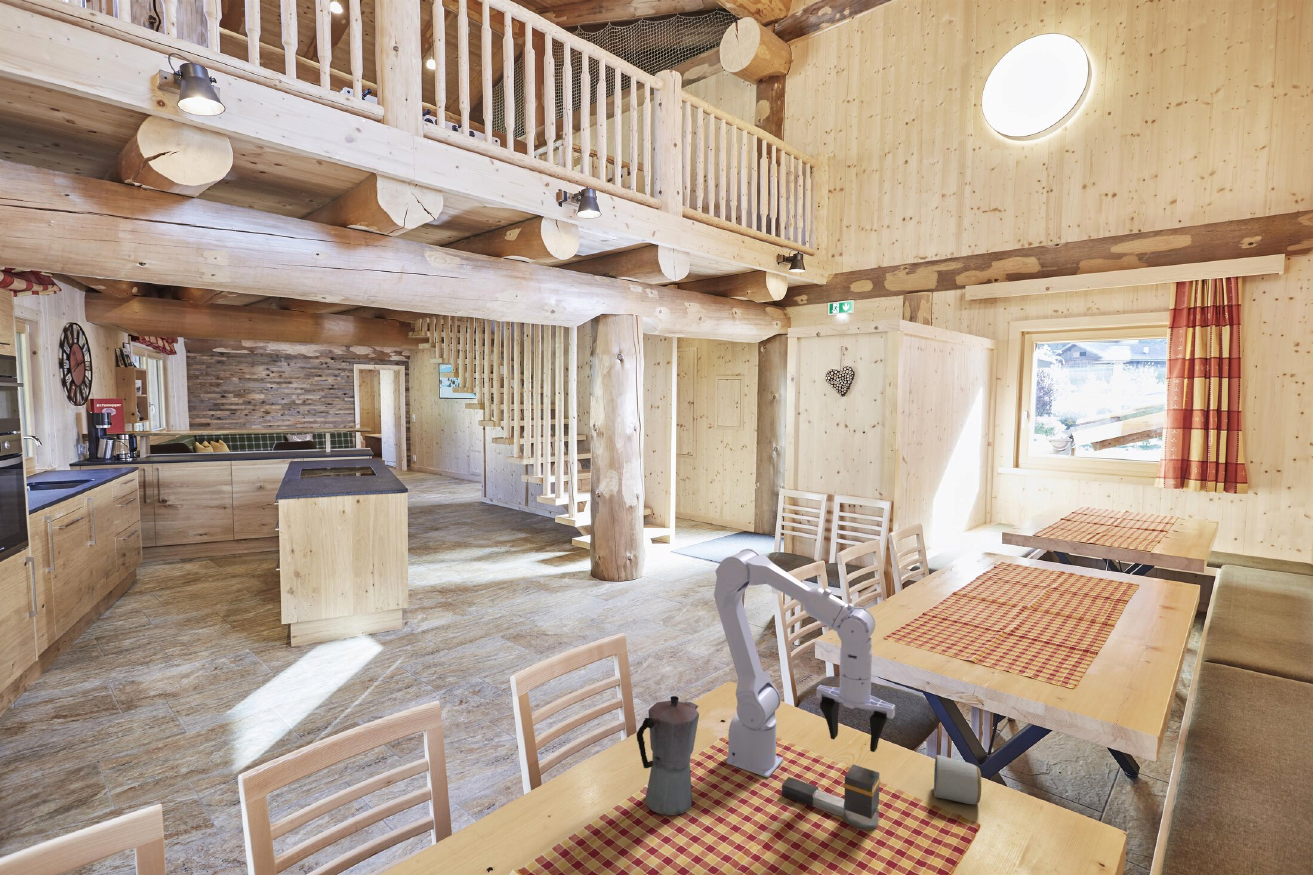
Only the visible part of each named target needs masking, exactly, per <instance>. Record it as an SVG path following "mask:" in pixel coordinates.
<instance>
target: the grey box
mask: <svg viewBox="0 0 1313 875" xmlns="http://www.w3.org/2000/svg"><path fill="white" fill-rule="evenodd" d="M880 784H881V778H880V772H878V771H875V770H872V769H869V768H866V767H863V766H859V765H856V764H852V765H851V767H850V768H849V770H848V771H847V772H846V774H845V776H844V783H843V788H844V798H843V799H844V809H845V810H848V811H850V812H853V813H856V814H859V815H862V816H864V817H867V818H870V819H872V817H873V815H874V813H875V811H876V809H877V807H879V804H880Z"/></svg>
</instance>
